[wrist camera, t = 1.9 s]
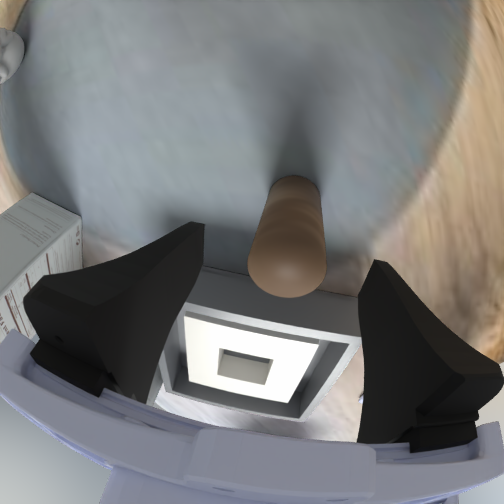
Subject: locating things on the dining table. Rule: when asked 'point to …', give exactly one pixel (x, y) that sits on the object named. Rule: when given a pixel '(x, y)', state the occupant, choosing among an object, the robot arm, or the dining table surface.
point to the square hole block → (258, 346)
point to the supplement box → (33, 254)
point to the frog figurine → (10, 53)
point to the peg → (289, 240)
